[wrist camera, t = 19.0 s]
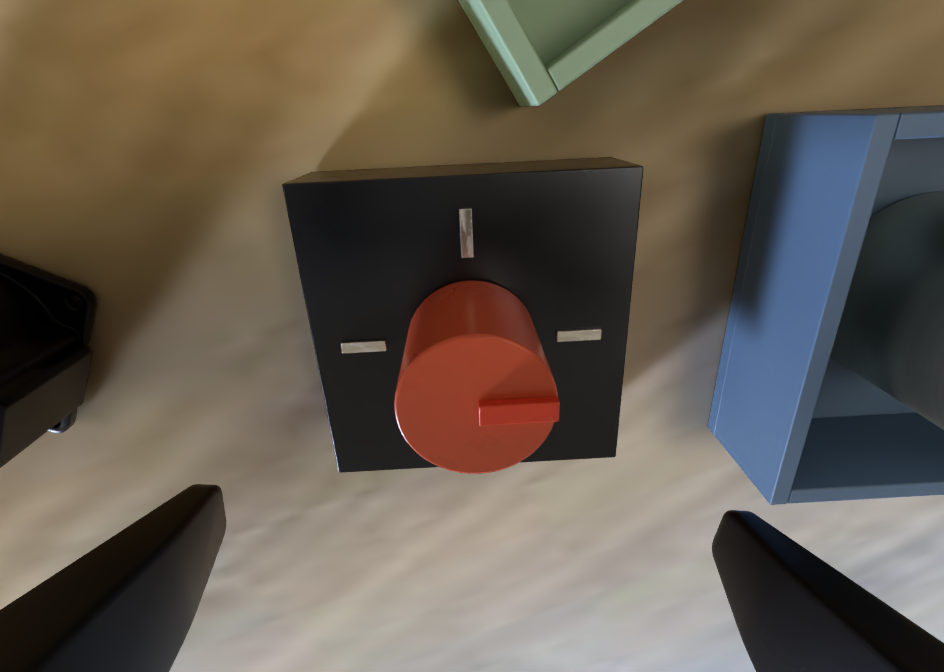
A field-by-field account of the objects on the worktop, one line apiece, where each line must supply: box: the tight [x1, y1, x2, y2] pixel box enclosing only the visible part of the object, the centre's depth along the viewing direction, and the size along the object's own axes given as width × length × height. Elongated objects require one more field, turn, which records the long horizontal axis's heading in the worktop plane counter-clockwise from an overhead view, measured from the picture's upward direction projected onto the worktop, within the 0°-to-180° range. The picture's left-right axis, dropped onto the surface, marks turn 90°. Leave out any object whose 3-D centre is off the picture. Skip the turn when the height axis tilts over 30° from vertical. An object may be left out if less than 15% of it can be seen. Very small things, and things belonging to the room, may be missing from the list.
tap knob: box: [394, 281, 560, 474], centre depth 14 cm, size 4×4×4 cm
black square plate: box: [282, 157, 643, 472], centre depth 17 cm, size 10×10×3 cm
